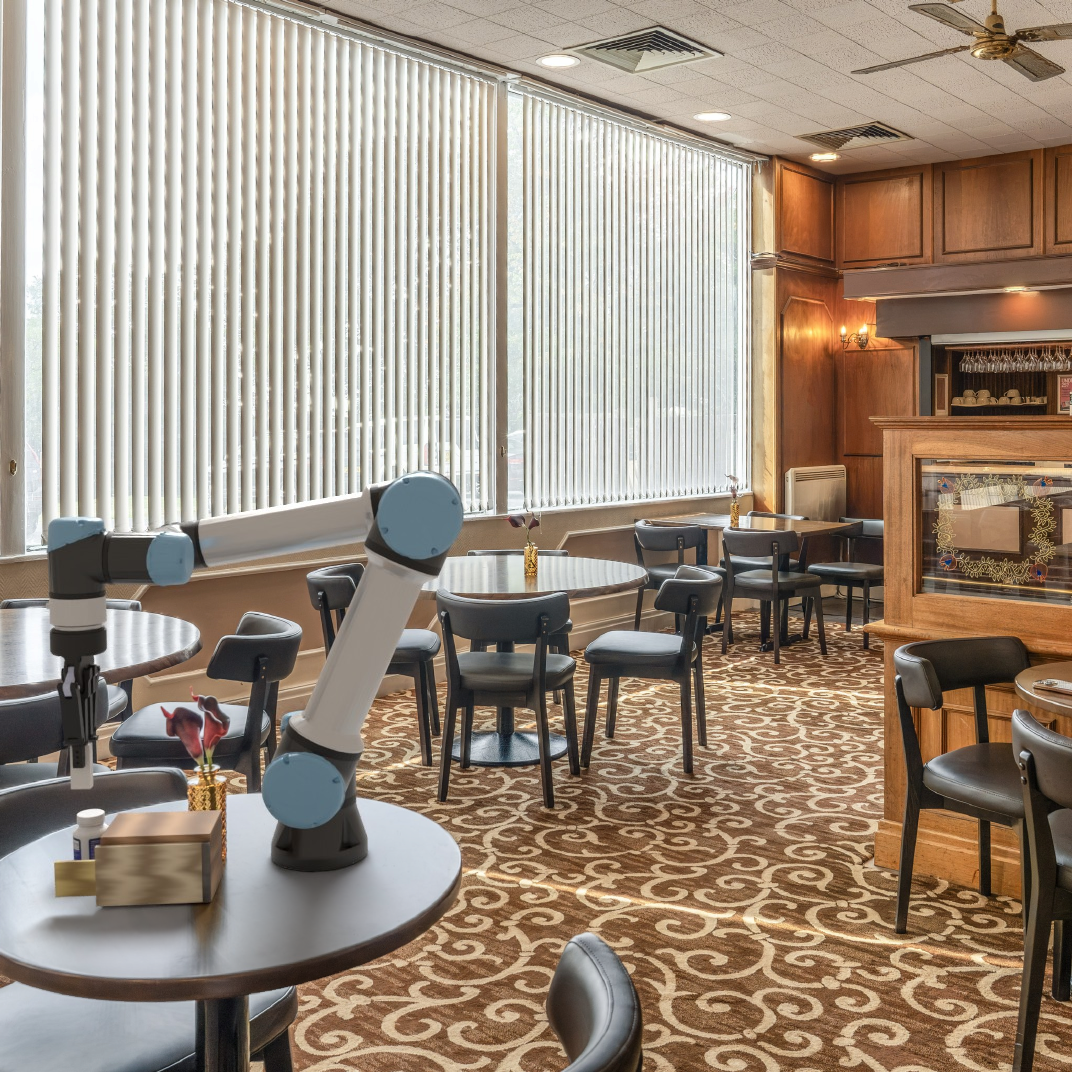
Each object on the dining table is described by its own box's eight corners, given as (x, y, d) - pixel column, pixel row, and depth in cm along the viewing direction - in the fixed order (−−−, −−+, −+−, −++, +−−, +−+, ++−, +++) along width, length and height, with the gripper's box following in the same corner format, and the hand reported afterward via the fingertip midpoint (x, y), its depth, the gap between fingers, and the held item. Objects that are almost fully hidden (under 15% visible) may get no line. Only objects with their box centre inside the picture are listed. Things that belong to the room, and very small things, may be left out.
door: (211, 898, 160) (210, 841, 159) (210, 902, 159) (209, 844, 158) (57, 904, 157) (55, 846, 157) (54, 908, 156) (52, 849, 155)
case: (222, 874, 170) (221, 810, 169) (211, 901, 160) (209, 833, 159) (120, 878, 168) (118, 813, 167) (102, 906, 158) (100, 837, 157)
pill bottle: (116, 862, 174) (114, 807, 173) (104, 876, 169) (102, 818, 168) (81, 862, 174) (79, 807, 173) (68, 876, 169) (66, 819, 168)
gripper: (64, 618, 165) (68, 774, 168) (35, 634, 153) (40, 803, 155) (117, 618, 166) (120, 773, 168) (92, 633, 153) (96, 801, 156)
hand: (82, 787), depth 162 cm, fingers closed
